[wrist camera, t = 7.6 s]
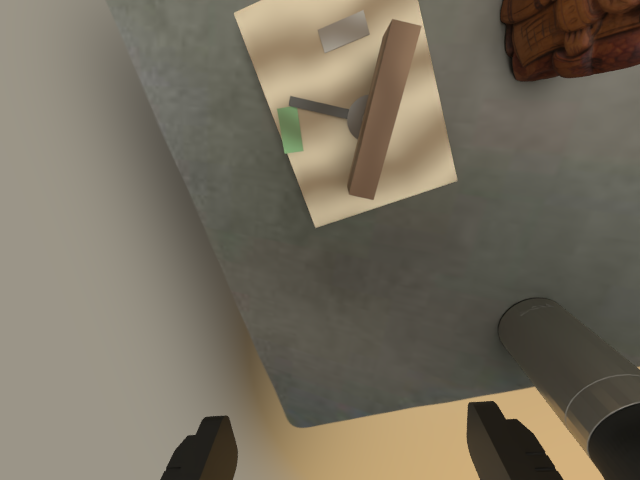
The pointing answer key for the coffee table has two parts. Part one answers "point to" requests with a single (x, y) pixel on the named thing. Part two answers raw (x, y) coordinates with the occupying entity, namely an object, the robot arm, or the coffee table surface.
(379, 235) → the coffee table surface
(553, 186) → the coffee table surface
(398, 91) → the peg key
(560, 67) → the wooden figurine
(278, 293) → the coffee table surface
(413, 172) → the wooden lever base
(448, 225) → the coffee table surface
